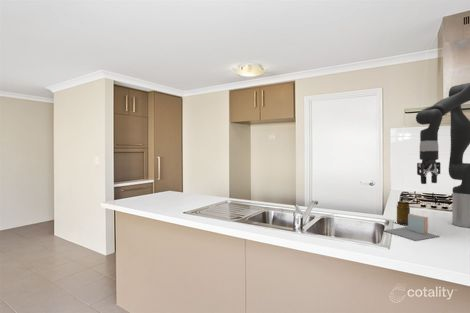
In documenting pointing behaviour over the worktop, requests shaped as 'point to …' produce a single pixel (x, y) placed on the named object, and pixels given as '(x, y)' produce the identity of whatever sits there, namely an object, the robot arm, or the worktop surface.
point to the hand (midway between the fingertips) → (428, 183)
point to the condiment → (403, 212)
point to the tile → (418, 223)
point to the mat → (410, 234)
